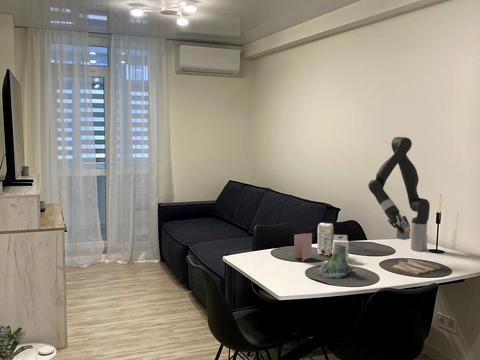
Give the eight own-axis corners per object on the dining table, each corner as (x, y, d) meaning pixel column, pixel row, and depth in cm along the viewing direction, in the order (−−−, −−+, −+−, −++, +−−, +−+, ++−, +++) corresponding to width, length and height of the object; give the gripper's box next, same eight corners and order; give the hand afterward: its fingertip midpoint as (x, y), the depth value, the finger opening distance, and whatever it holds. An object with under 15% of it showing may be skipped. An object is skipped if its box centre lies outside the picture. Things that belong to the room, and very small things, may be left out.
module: (402, 237, 270) (402, 223, 269) (409, 239, 265) (410, 224, 264) (396, 238, 267) (397, 223, 266) (404, 240, 263) (404, 225, 262)
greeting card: (310, 257, 278) (311, 233, 277) (316, 260, 271) (316, 235, 270) (293, 259, 275) (293, 234, 273) (298, 262, 268) (299, 236, 266)
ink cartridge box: (333, 261, 270) (333, 236, 269) (332, 258, 275) (333, 234, 274) (348, 261, 270) (348, 236, 268) (347, 259, 274) (347, 234, 273)
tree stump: (307, 271, 251) (313, 239, 252) (336, 275, 260) (341, 244, 261) (328, 279, 234) (334, 244, 235) (358, 283, 243) (364, 249, 244)
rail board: (415, 261, 268) (415, 257, 268) (440, 268, 255) (440, 264, 254) (392, 267, 257) (392, 263, 257) (417, 274, 244) (417, 270, 244)
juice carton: (329, 256, 281) (329, 225, 279) (316, 254, 285) (316, 224, 283) (333, 253, 287) (334, 223, 285) (320, 251, 291) (321, 222, 290)
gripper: (385, 205, 267) (402, 229, 258) (401, 203, 274) (418, 227, 266) (377, 213, 272) (393, 237, 263) (394, 211, 279) (410, 234, 271)
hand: (406, 232), depth 264 cm, fingers closed on module, 4 cm apart
